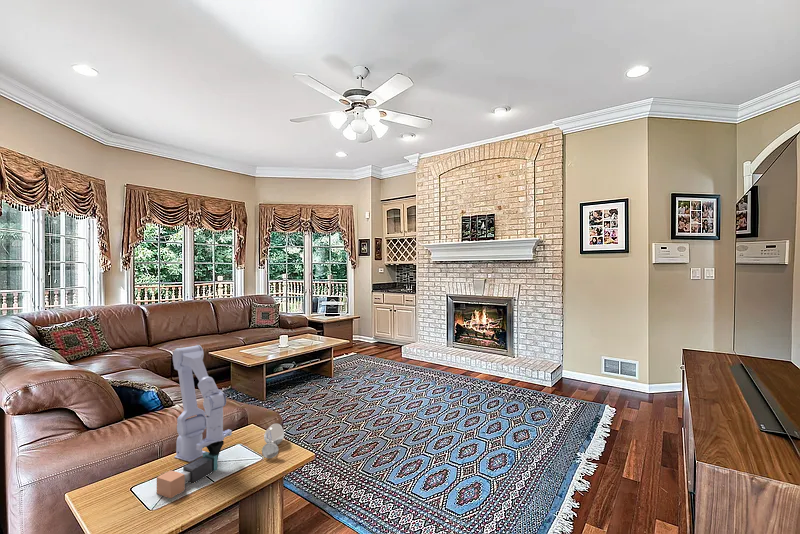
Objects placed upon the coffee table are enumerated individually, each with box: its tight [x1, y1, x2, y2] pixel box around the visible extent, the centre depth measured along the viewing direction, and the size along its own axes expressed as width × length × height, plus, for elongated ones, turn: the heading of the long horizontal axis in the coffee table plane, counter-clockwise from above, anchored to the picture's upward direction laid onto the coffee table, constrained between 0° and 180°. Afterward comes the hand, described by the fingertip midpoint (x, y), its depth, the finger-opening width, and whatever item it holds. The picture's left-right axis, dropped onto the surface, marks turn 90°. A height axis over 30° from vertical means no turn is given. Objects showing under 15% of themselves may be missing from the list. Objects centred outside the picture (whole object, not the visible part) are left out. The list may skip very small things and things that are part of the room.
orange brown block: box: [156, 469, 186, 499], centre depth 128 cm, size 7×5×6 cm
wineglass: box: [261, 423, 285, 459], centre depth 160 cm, size 8×8×18 cm
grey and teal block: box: [180, 451, 219, 484], centre depth 136 cm, size 6×16×6 cm, turn 156°
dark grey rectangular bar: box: [182, 456, 213, 484], centre depth 138 cm, size 5×8×5 cm, turn 157°
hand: (214, 461), depth 144 cm, fingers closed
